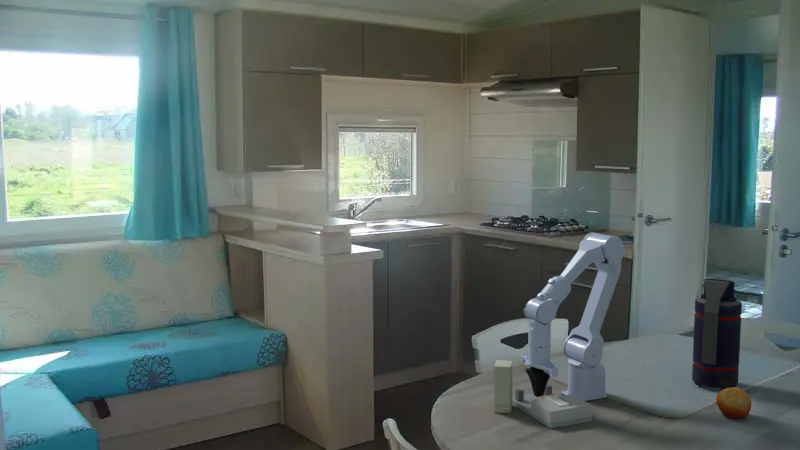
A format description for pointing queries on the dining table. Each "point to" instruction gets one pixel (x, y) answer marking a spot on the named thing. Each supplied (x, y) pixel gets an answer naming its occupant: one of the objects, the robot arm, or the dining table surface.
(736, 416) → the fruit
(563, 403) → the button
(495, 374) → the skincare box
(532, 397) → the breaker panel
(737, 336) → the grenade
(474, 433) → the dining table surface
